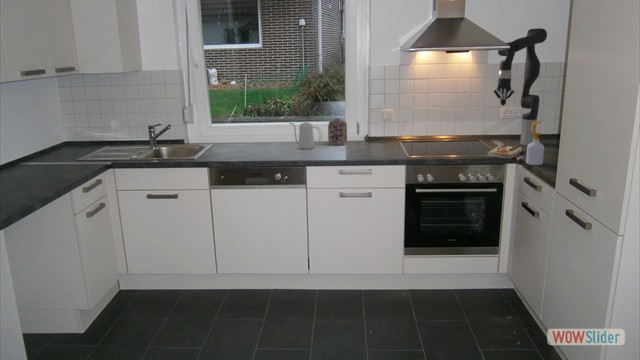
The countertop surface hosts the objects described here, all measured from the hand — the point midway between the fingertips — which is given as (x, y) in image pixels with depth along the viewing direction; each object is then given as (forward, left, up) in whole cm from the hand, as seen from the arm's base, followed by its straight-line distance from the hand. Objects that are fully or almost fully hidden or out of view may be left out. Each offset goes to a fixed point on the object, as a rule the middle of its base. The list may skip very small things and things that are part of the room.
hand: (503, 105), depth 330 cm
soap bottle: (+27, +28, -29) cm, 49 cm away
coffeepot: (+55, -116, -29) cm, 132 cm away
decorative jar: (+32, -105, -29) cm, 114 cm away
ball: (+15, +6, -26) cm, 31 cm away
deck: (+9, +6, -29) cm, 31 cm away
